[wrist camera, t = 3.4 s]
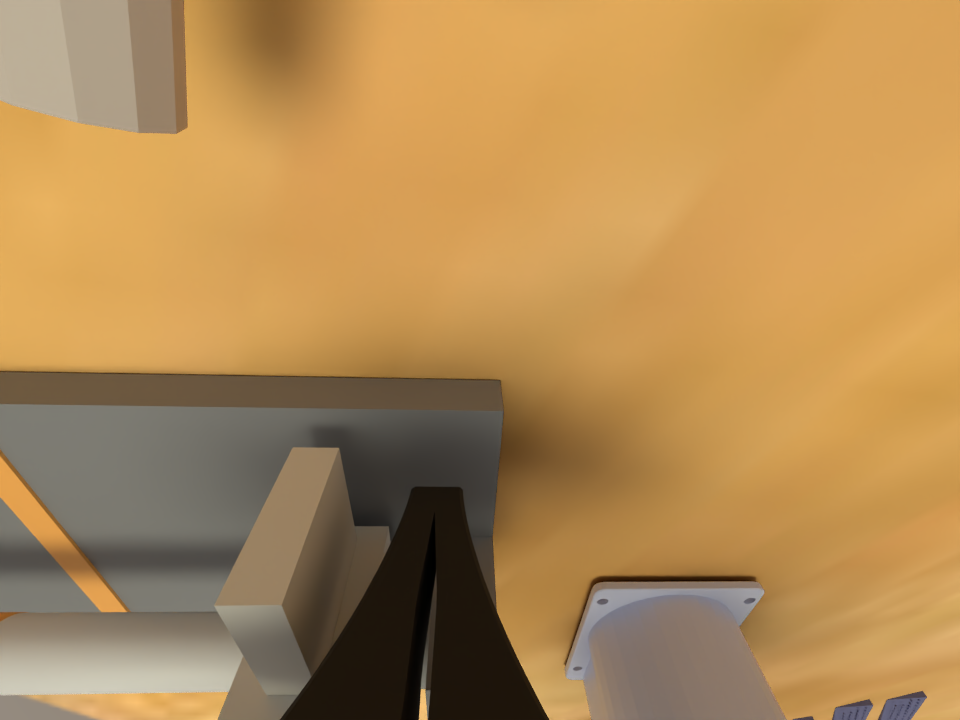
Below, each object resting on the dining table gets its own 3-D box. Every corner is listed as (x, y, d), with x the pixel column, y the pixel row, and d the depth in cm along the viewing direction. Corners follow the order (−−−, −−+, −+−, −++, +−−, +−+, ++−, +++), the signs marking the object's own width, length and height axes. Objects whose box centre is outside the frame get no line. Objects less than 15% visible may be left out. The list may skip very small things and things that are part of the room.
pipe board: (481, 611, 20) (486, 780, 15) (-29, 614, 19) (-203, 797, 14) (500, 380, 13) (521, 562, 8) (-331, 366, 12) (-921, 566, 7)
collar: (398, 606, 16) (374, 785, 12) (321, 606, 16) (268, 788, 12) (376, 434, 11) (323, 634, 7) (265, 433, 11) (144, 636, 7)
